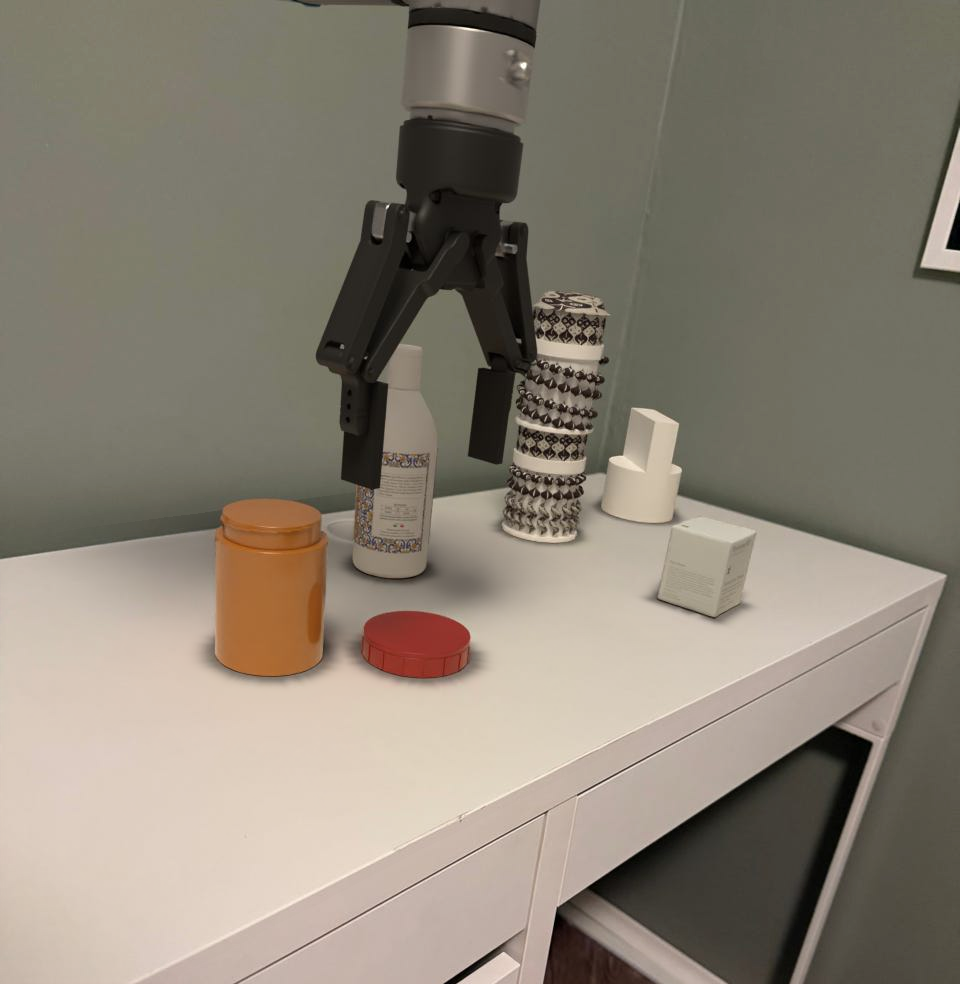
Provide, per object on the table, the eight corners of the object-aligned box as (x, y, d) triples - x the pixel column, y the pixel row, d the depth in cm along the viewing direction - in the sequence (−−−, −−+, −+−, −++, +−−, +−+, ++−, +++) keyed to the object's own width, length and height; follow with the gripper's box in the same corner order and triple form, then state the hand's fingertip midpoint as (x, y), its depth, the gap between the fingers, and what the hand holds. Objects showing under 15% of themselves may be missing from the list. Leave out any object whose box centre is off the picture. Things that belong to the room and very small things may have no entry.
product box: (714, 619, 83) (732, 542, 80) (654, 599, 87) (669, 524, 84) (740, 604, 88) (758, 530, 85) (683, 585, 91) (698, 514, 88)
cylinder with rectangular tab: (591, 499, 118) (607, 405, 114) (657, 503, 120) (675, 411, 115) (613, 520, 110) (631, 420, 106) (683, 524, 112) (704, 426, 107)
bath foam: (370, 550, 90) (384, 337, 82) (436, 564, 89) (457, 349, 81) (339, 570, 84) (351, 342, 76) (409, 585, 83) (429, 355, 75)
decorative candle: (517, 513, 109) (547, 287, 99) (591, 530, 105) (629, 299, 95) (484, 530, 101) (512, 287, 91) (562, 549, 97) (601, 299, 88)
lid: (484, 673, 68) (487, 649, 67) (380, 682, 65) (382, 657, 64) (445, 629, 74) (447, 607, 74) (349, 635, 71) (350, 613, 70)
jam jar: (192, 650, 66) (190, 506, 62) (273, 623, 72) (276, 491, 67) (265, 687, 62) (268, 536, 58) (344, 655, 68) (352, 517, 64)
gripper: (367, 85, 44) (340, 513, 53) (616, 157, 63) (566, 463, 72) (260, 80, 48) (251, 480, 56) (525, 150, 67) (488, 441, 75)
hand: (427, 471), depth 64 cm, fingers open, 13 cm apart
